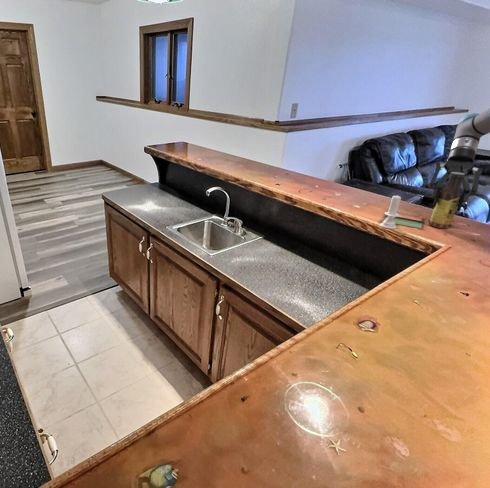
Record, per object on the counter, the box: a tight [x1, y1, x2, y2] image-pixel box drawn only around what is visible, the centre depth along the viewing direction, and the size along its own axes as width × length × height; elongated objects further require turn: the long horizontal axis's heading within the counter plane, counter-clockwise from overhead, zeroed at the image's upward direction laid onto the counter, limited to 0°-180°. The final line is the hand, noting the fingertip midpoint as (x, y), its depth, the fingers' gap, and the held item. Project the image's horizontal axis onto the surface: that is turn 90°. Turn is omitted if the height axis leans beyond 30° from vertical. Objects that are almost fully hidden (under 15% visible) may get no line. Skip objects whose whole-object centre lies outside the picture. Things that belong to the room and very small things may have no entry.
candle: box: [379, 194, 402, 230], centre depth 127 cm, size 5×5×12 cm
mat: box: [383, 214, 424, 230], centre depth 134 cm, size 12×10×1 cm
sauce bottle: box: [429, 172, 465, 229], centre depth 125 cm, size 6×6×20 cm
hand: (446, 207), depth 123 cm, fingers closed on sauce bottle, 6 cm apart
